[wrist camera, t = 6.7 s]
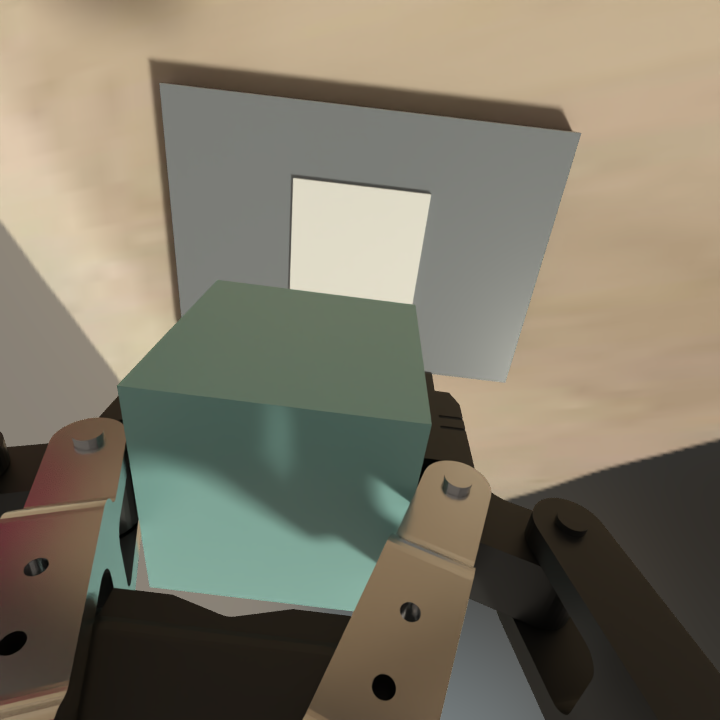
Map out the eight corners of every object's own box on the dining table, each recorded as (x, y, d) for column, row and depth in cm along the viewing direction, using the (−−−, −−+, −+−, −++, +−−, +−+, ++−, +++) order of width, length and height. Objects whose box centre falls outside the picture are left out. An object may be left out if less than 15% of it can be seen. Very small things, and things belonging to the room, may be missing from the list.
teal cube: (217, 279, 12) (116, 385, 7) (415, 305, 12) (431, 424, 7) (222, 437, 14) (149, 586, 10) (387, 457, 14) (387, 615, 10)
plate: (169, 83, 23) (157, 82, 22) (572, 131, 23) (582, 133, 22) (190, 335, 30) (182, 345, 29) (501, 372, 30) (505, 384, 29)
